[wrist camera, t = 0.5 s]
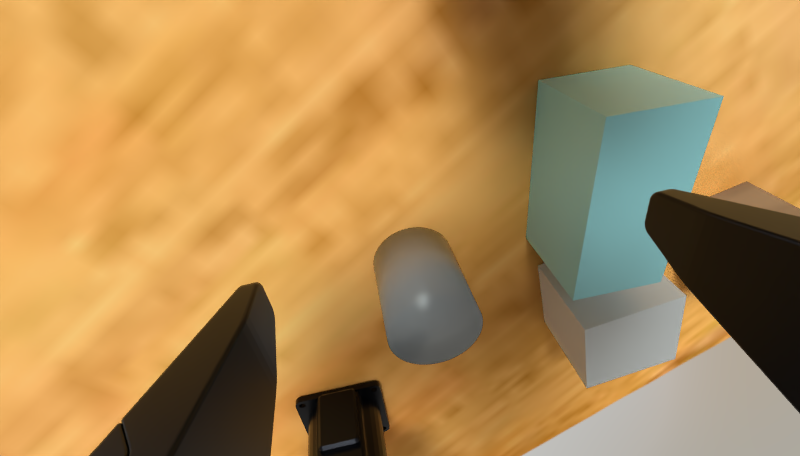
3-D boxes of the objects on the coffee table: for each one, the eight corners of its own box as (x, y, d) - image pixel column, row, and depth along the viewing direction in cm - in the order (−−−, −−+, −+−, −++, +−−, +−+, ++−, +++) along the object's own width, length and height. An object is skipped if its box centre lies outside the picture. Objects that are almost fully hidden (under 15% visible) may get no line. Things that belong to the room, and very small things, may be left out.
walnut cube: (737, 235, 30) (804, 279, 26) (671, 262, 30) (728, 310, 26) (745, 180, 27) (822, 220, 23) (673, 210, 27) (736, 255, 23)
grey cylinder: (452, 281, 27) (482, 353, 22) (379, 296, 27) (393, 372, 22) (449, 220, 25) (483, 286, 20) (367, 236, 24) (381, 307, 19)
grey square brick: (618, 295, 31) (675, 358, 26) (543, 320, 31) (586, 388, 26) (620, 236, 28) (686, 295, 23) (537, 264, 28) (584, 330, 23)
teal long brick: (597, 222, 27) (660, 282, 22) (524, 236, 26) (572, 300, 22) (628, 64, 21) (723, 96, 16) (537, 79, 21) (606, 116, 16)
